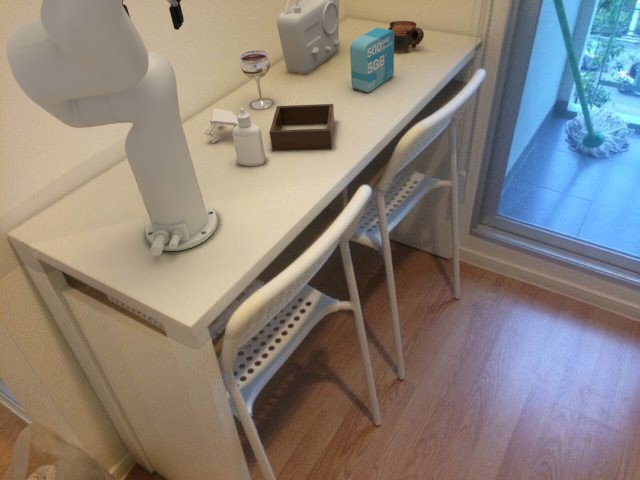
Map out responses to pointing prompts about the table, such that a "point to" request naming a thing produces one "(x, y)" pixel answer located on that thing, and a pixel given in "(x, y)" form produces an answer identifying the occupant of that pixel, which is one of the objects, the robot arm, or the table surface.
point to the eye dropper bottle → (248, 141)
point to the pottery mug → (405, 35)
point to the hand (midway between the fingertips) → (153, 28)
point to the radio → (308, 33)
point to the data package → (372, 59)
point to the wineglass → (256, 72)
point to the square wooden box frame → (302, 137)
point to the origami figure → (221, 121)
